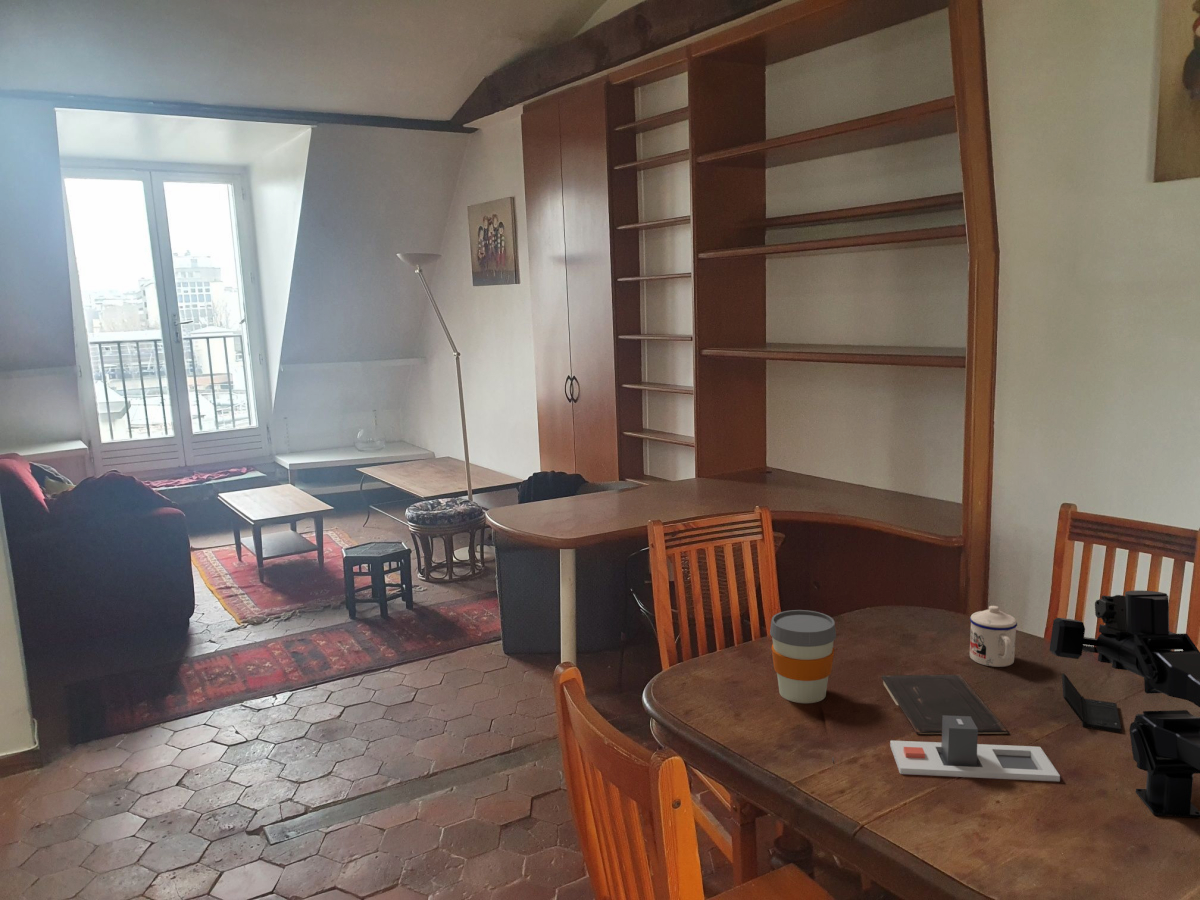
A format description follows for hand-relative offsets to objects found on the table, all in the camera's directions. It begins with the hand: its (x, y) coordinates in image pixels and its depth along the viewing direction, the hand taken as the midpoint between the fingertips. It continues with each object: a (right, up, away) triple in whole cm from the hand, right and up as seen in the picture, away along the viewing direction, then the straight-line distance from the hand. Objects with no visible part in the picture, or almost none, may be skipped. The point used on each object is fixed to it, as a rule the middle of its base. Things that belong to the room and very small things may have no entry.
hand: (1083, 632), depth 152 cm
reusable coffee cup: (-45, -16, +19) cm, 51 cm away
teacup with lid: (-2, -13, +30) cm, 33 cm away
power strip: (-29, -20, -10) cm, 37 cm away
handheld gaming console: (+5, -17, +6) cm, 18 cm away
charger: (-26, -19, -10) cm, 34 cm away
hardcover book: (-21, -17, +10) cm, 29 cm away
